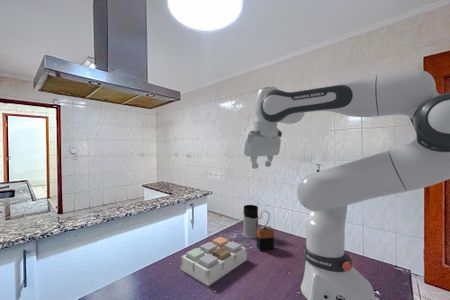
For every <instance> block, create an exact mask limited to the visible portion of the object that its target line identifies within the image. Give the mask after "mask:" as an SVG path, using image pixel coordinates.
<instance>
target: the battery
mask: <svg viewBox="0 0 450 300" xmlns="http://www.w3.org/2000/svg"><path fill="white" fill-rule="evenodd" d="M274 232H275V231H274V229H273V228H272V226H269V225H268V226H267V225H266V226H265V227H264V226H262V225H261V226H259V227H258V228H257V238H256V248H257V249H258V250H259V251H260V252H261V251H262V252H264V251H272V250H274V249H275V243H274V242H275V241H274V240H275V235H274V234H275V233H274Z"/></svg>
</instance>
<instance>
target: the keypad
mask: <svg viewBox="0 0 450 300" xmlns="http://www.w3.org/2000/svg"><path fill="white" fill-rule="evenodd" d="M218 248H219V247H217V245H215V244H213V243H212V241H211V242H210V241H208V242H205V243H203V244H201V245H199V247H198V249H200V250H202V251H204V252H205V256H203V257H201V258H199V259H198V260H197V261H195V262H194V261H192V260H190V259H189V258H187V257H186V253H185V254H183V255H181V256H180V270H181V271H183V272H184V273H186V274H187V275H189V276H190V277H192V278H194V279H196V280H197V281H199V282H200V283H202V284H203V285H205V286H207V287H210V286H211V285H212V284H214V283H215V282H217V281H218V280H219V279H222V278H223V277H224V276H225V275H227V274H229V273H230V272H231V271H232V270H234V269H235V268H237V267H238V266H240V265H241V264H243V263H244V262H246V261H247V257H248V256H247V255H248V254H247V252H248V251H247V248H248V247H245V246H242V244H240V243H238V242H235V241H233V240H232V241H229V240H228V244H226V245H224V247H222V248H225V249H227V250H229V251H230V256H229V257H227V258H226V259H224V260H222V261H221V260H219V259H218V258H217V257H215V256H213V255H212V251H214V250H216V249H218Z"/></svg>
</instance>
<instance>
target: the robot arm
mask: <svg viewBox="0 0 450 300" xmlns="http://www.w3.org/2000/svg"><path fill="white" fill-rule="evenodd" d="M436 86H437V85H436V80H435V79H434V77H433V75H432V74H431V73H429V72H428V71H426V70H420V69H419V70H404V71H403V70H402V71H394V72H387V73H381V74H377V75H372V76H368V77H363V78H359V79H356V80H352V81H347V82H343V83H338V84H333V85H330V86H324V87H318V88H312V89H304V90H297V91H293V92H292V91H291V92H289V91H284V90H280V89H279V88H277V87H275V86H271V87H270V86H267V87H264V88H261V89H260V90H258V92H257V94H256V99H255V102H254V103H255V104H254V119H253V120H254V121H253V128H252V130H250V131H249V132H248V134H247V137H246V139H245V143H244V148H243V149H244V150H243V152H244V156H245V157H250V158H249V159H250V161H251V168H252V169H253V170H255V169H256V170H257V169H259V163H258V161H257V160H258V157H266V160H265V162H264V164H265V165H264V166H265V167H271V166H272V161H273V159H274V156H278V155H279V154H280V150H281V143H282V140H281V138H282V137H283V132H282V131H281V130H280V129H279V128H278V123H280V124H287V125H288V124H289V125H291V124H296V123H299V122H300V121H301V120H302V119H303V117H304V116H305V113H310V112H330V113H331V112H332V113H337V114H340V115H344V116H348V117H355V118H372V117H373V118H374V117H375V118H376V117H384V116H385V117H386V116H393V115H395V116H396V115H400V116H406V117H408V118H409V120H410V122H411V123H412V126H413V128H414V131H415V133H416V136H415V139H414V140H413V141H411V142H410V143H407V144H405V145H403V146H399V147H397V148H396V147H395V148H393V149H389V150H387V151H383V152H380V153H376V154H373V155H370V156H366V157H364V158H360V159H356V160H354V161H350V162H346V163H343V164H340V165H336V166H334V167H333V166H332V167H331V168H326V169H323V170H321V171H317V172H314V173H311V174H308V175H307V176H305V177H304V178H303V179H302V180H301V182H299V184H298V186H297V190H296V196H297V198H298V199H297V200H298V201H299V203H300V204H301V205H302V206H303V207H304V208H305V209H307V210H309V213H308V217H307V219H306V222H305V223H306V225H305V226H306V227H305V233H306V234H305V235H306V237H305V239H306V240H305V245H304V254H303V257H304V262H305V264H304V265H305V266H304V273H303V277H302V283H301V284H300V291H301V294H302V295H303V296H304V297H305V298H306V300H380V298H379V297H377V296H375V293H374V289H373V286H372V284H371V283H370V281H369V280H368V279H367V278H366V277H364V276H363V275H362V274H361V273H360V272H359V271H358V270H357V269H355V267H354V266H353V254H350V255H348V253H347V252H346V251H345V246H346V245H345V240H346V239H345V234H346V233H345V230H346V229H345V228H346V221H347V212H348V206H349V205H352V204H357V203H359V202H360V203H361V202H363V201H367V200H371V199H376V198H380V197H385V196H391V195H396V194H400V193H406V192H411V191H415V190H419V189H424V188H428V187H430V186H433V185H434V186H435V185H437V184H440V183H443V182H445V181H447V180H450V92H445V93H441V94H440V93H439V92H438V90H437V87H436Z"/></svg>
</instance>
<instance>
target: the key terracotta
mask: <svg viewBox="0 0 450 300" xmlns="http://www.w3.org/2000/svg"><path fill="white" fill-rule="evenodd" d="M228 241H229V239H227V238H224V237H222V236H218V237H216V238H214V239H212V240H211V242H212V243H213V244H215V245H217V247H219V248H220V247H224V245H226V244H228Z"/></svg>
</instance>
